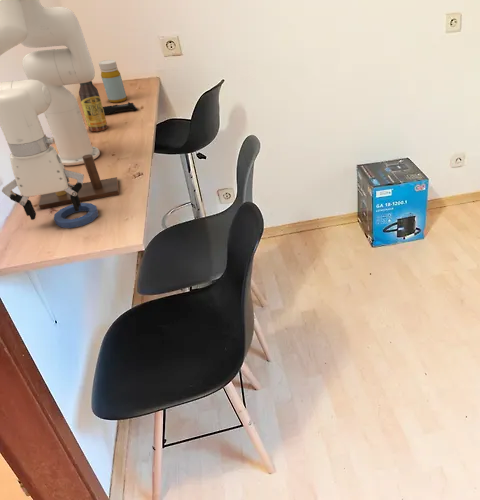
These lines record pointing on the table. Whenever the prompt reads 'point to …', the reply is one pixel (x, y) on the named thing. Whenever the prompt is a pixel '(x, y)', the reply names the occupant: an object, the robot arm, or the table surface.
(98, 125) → the sauce bottle
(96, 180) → the rack
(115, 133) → the table surface
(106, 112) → the electric trimmer
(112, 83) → the bottle
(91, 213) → the ring
